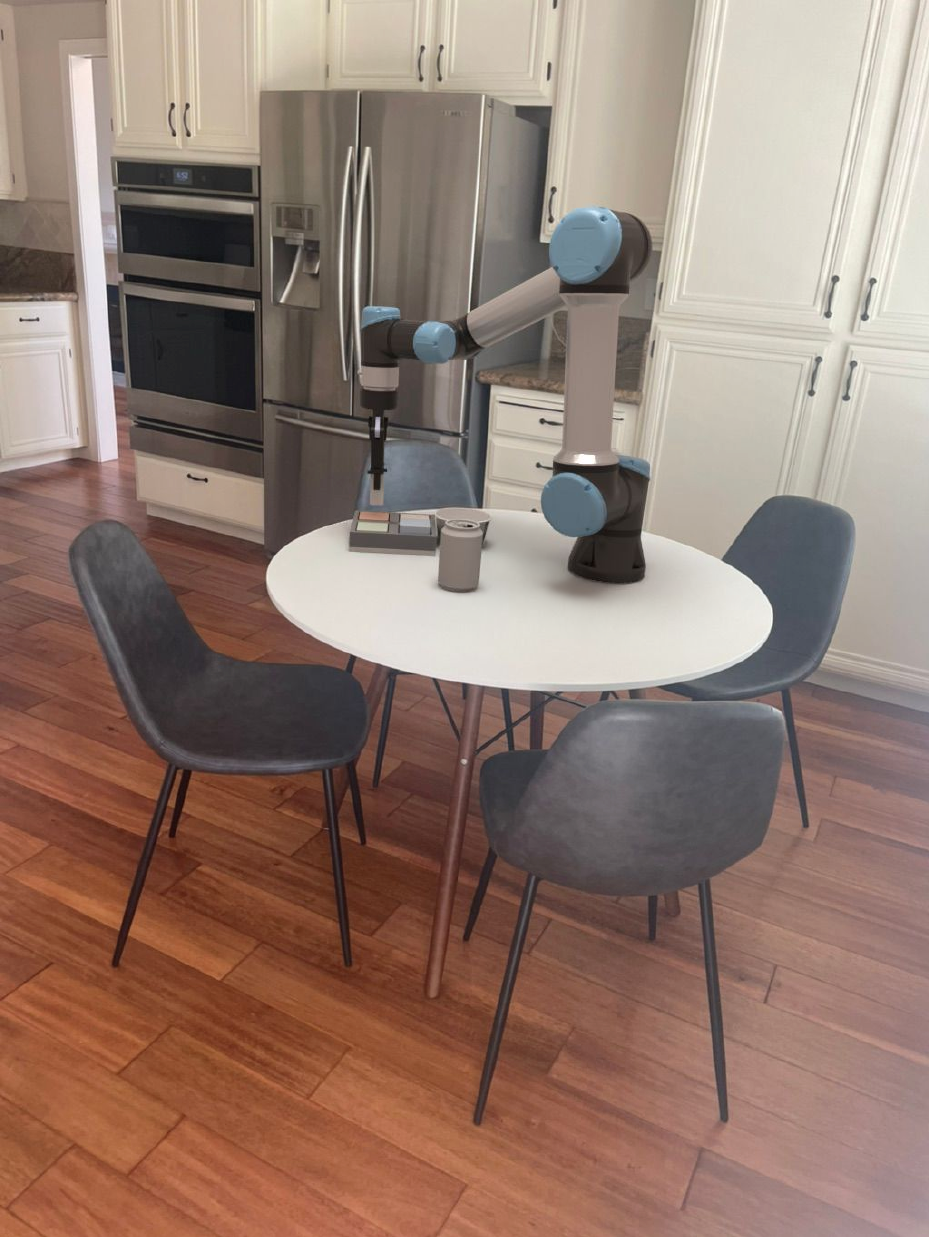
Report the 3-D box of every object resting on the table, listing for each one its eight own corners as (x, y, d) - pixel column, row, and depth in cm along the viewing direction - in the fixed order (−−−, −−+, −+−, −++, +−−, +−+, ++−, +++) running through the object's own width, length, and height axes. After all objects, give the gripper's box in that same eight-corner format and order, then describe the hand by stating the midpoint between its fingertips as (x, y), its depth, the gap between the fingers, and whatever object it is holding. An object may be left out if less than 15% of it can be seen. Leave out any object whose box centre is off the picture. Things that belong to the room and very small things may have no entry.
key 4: (428, 526, 201) (429, 515, 200) (428, 534, 195) (429, 522, 194) (400, 525, 201) (400, 513, 200) (399, 532, 195) (400, 521, 194)
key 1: (387, 535, 192) (387, 523, 192) (386, 543, 187) (387, 531, 186) (357, 533, 192) (358, 522, 191) (356, 542, 186) (356, 529, 186)
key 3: (429, 531, 193) (429, 519, 192) (429, 539, 187) (430, 527, 186) (399, 529, 192) (400, 517, 191) (399, 537, 187) (400, 525, 186)
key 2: (388, 524, 200) (388, 513, 199) (387, 532, 195) (388, 520, 194) (360, 523, 200) (360, 511, 199) (358, 530, 194) (359, 518, 193)
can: (474, 595, 166) (479, 530, 162) (433, 590, 168) (437, 524, 163) (482, 582, 173) (487, 519, 169) (442, 577, 175) (446, 514, 170)
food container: (422, 546, 193) (424, 515, 190) (446, 533, 203) (448, 504, 201) (476, 557, 189) (478, 525, 186) (498, 543, 199) (500, 513, 197)
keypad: (433, 532, 203) (434, 514, 201) (435, 556, 187) (436, 536, 186) (354, 528, 202) (354, 510, 200) (349, 551, 186) (349, 531, 184)
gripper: (361, 383, 193) (360, 496, 201) (358, 391, 181) (356, 511, 189) (398, 385, 194) (395, 498, 202) (397, 393, 181) (394, 512, 189)
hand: (376, 504), depth 195 cm, fingers closed
